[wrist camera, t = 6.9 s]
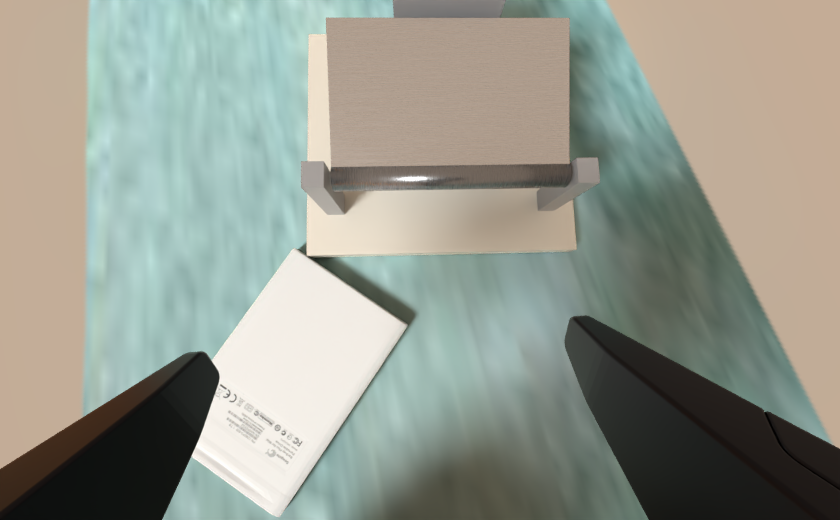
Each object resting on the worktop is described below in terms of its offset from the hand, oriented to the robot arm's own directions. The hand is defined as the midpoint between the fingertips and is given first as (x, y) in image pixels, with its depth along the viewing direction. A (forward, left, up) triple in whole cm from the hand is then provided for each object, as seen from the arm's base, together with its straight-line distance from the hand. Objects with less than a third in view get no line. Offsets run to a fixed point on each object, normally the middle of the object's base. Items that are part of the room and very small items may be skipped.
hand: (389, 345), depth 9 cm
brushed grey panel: (+7, -3, -7) cm, 10 cm away
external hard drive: (-3, +6, -13) cm, 15 cm away
